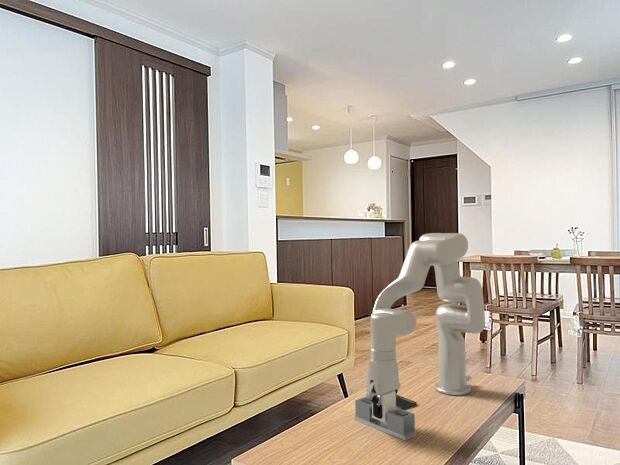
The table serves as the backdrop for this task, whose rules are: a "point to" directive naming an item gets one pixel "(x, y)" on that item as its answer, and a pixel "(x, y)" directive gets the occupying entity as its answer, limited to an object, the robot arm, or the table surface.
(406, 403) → the phone
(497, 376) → the table surface
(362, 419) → the rail
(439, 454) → the table surface
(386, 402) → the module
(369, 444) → the table surface
